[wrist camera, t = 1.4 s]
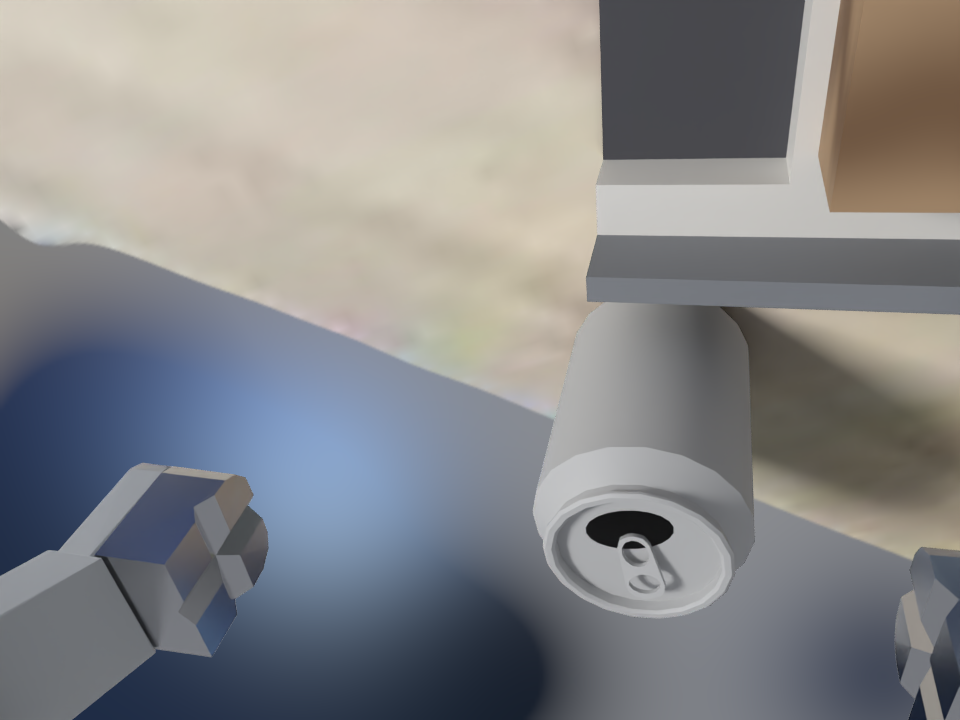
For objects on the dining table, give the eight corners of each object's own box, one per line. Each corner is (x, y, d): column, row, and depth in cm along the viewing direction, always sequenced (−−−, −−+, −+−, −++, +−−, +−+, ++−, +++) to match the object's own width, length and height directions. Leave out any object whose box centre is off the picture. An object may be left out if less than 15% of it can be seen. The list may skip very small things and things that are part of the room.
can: (728, 258, 31) (728, 473, 22) (765, 400, 35) (777, 633, 26) (553, 295, 34) (489, 497, 25) (603, 422, 38) (564, 637, 29)
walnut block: (847, -48, 22) (866, -14, 19) (1098, -67, 20) (1162, -33, 17) (817, 155, 26) (829, 212, 23) (1029, 153, 24) (1072, 213, 21)
